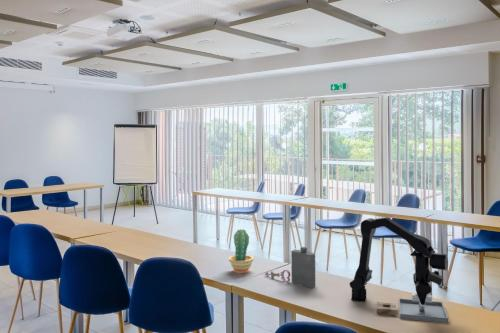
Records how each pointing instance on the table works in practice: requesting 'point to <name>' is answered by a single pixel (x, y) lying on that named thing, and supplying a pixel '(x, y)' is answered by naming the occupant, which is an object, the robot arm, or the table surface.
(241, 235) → the potted cactus
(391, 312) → the socket block
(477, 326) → the table surface
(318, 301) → the table surface
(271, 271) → the decorative key
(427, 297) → the gray rectangular block
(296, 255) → the flask
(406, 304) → the tray
